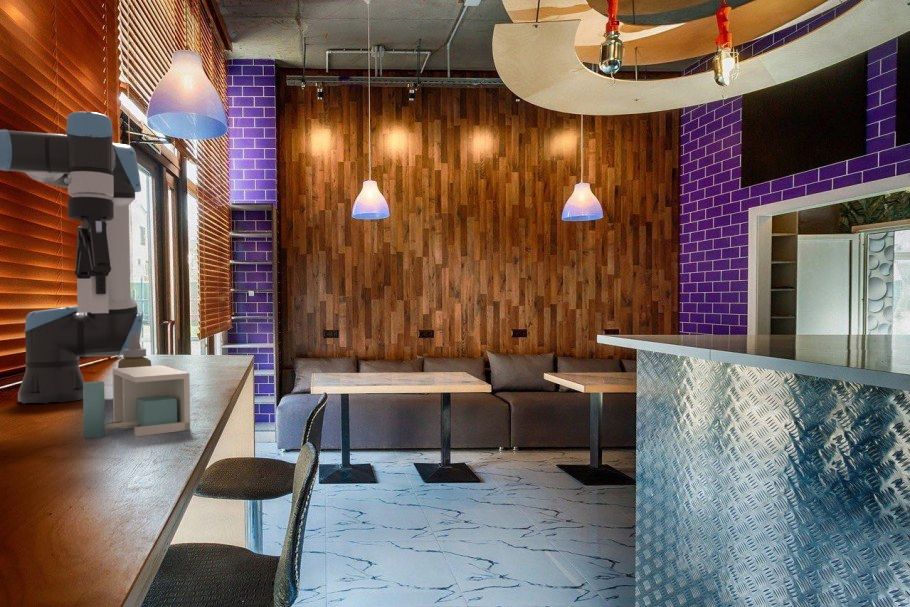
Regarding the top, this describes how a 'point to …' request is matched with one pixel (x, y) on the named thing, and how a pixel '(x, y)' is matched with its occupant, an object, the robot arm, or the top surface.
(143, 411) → the teal block
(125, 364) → the squeeze bottle
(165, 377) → the cream cubby shelf
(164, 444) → the top surface
